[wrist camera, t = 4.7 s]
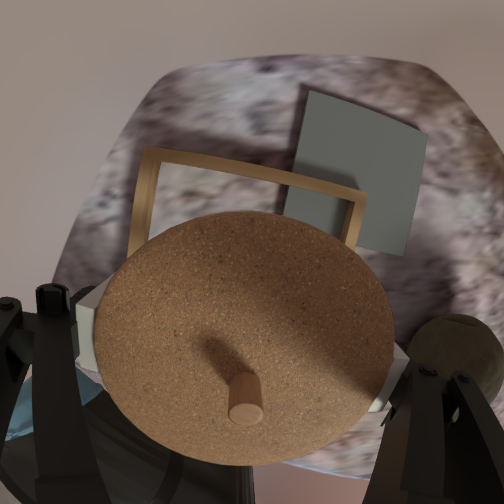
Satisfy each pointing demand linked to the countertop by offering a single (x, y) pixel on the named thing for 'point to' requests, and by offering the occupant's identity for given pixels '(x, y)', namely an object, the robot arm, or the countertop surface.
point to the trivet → (357, 171)
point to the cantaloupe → (461, 351)
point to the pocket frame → (156, 155)
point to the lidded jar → (244, 338)
